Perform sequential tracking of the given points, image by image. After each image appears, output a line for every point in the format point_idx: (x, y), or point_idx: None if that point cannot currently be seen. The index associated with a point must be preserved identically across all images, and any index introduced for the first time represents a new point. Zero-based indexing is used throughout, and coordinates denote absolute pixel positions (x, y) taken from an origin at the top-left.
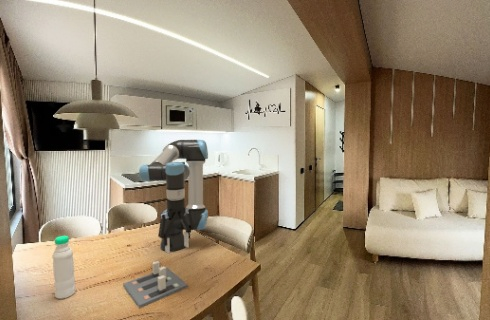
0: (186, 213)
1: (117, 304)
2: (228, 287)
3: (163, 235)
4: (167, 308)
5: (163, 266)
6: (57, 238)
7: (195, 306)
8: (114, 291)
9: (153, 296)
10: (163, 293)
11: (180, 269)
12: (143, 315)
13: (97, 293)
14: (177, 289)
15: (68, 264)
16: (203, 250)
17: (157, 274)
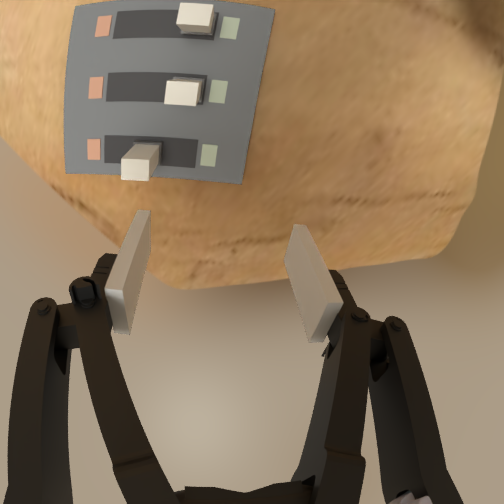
0: (415, 486)
1: (31, 107)
2: None
3: (69, 358)
4: None
5: (195, 82)
6: None
7: (195, 270)
8: (48, 25)
9: (112, 161)
10: None
11: (312, 53)
12: (71, 206)
13: (16, 12)
14: (197, 179)
15: None
16: (462, 43)
17: (197, 34)
